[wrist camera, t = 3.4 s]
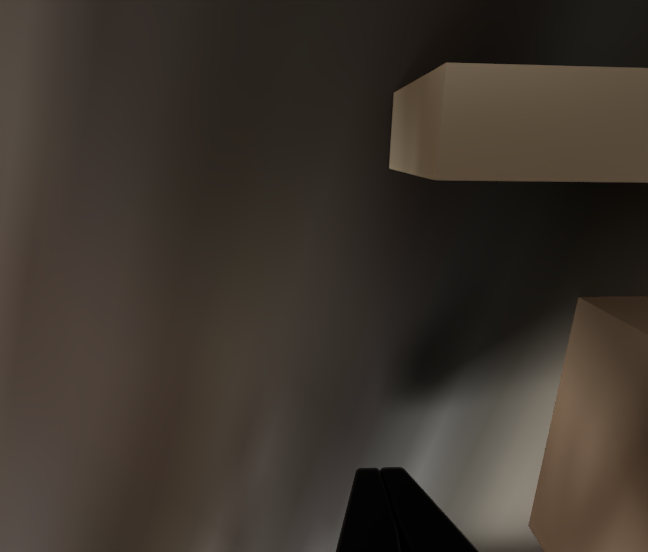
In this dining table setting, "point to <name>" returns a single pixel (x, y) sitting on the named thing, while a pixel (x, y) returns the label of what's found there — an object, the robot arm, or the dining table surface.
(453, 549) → the robot arm
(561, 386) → the cardboard box
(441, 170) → the bay
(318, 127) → the dining table surface
